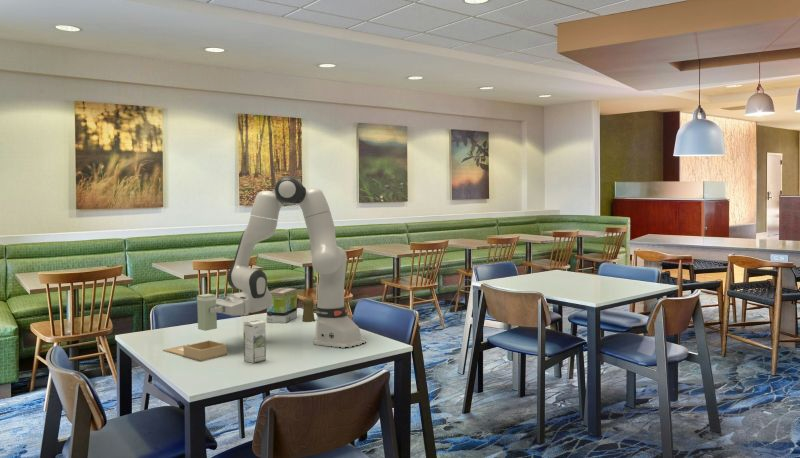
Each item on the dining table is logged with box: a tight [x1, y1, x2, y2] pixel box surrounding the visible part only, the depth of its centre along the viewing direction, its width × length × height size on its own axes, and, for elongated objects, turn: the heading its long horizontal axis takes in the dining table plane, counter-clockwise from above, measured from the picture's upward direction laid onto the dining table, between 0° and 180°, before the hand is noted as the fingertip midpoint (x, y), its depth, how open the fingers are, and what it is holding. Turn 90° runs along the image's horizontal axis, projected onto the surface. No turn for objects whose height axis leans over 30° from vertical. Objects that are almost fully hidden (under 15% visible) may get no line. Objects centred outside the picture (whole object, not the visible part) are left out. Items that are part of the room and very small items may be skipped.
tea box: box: [266, 287, 298, 324], centre depth 300 cm, size 15×10×15 cm, turn 168°
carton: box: [196, 293, 218, 332], centre depth 237 cm, size 5×5×13 cm
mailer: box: [162, 340, 228, 362], centre depth 238 cm, size 26×11×4 cm, turn 51°
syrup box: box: [243, 319, 267, 364], centre depth 225 cm, size 6×6×14 cm
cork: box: [301, 297, 315, 323], centre depth 297 cm, size 6×6×11 cm
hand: (204, 309), depth 236 cm, fingers closed on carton, 5 cm apart
